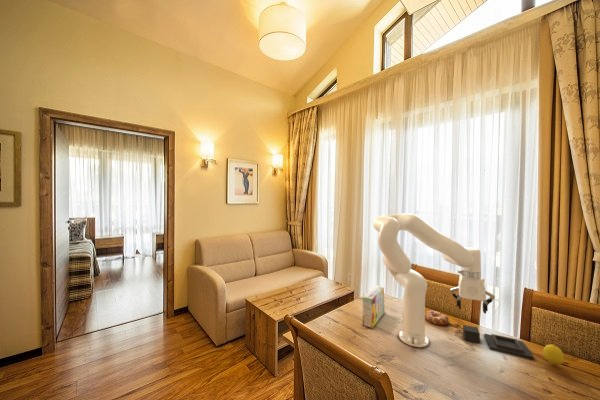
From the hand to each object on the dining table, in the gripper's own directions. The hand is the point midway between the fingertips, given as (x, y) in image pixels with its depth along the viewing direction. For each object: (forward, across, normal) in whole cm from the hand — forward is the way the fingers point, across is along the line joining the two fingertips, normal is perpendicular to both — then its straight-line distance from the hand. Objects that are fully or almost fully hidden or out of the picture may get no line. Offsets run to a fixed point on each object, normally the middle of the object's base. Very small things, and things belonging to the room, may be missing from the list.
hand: (471, 310), depth 111 cm
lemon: (+14, +25, -7) cm, 30 cm away
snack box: (+13, -44, -3) cm, 46 cm away
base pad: (+13, +12, -1) cm, 18 cm away
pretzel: (+13, -14, +10) cm, 22 cm away
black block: (+13, 0, -1) cm, 13 cm away
